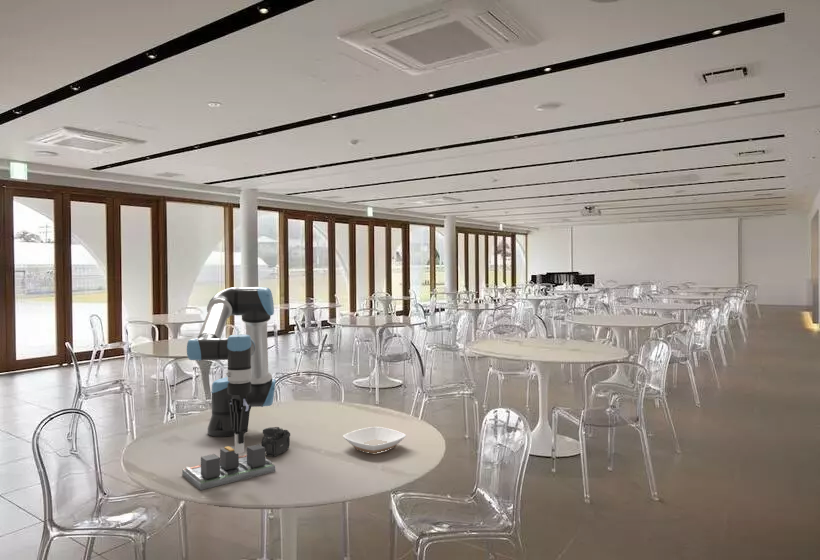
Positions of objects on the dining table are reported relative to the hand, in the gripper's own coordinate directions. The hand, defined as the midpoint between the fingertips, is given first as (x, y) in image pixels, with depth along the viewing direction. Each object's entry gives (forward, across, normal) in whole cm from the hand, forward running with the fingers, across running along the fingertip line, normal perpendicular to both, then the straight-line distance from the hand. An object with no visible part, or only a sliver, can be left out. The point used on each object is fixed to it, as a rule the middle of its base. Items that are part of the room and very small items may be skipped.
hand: (239, 452), depth 185 cm
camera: (+9, -19, +23) cm, 31 cm away
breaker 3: (+7, -5, +8) cm, 12 cm away
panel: (+9, -9, 0) cm, 13 cm away
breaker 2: (+7, -9, 0) cm, 11 cm away
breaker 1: (+7, -5, -8) cm, 12 cm away
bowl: (+10, +2, +55) cm, 56 cm away
